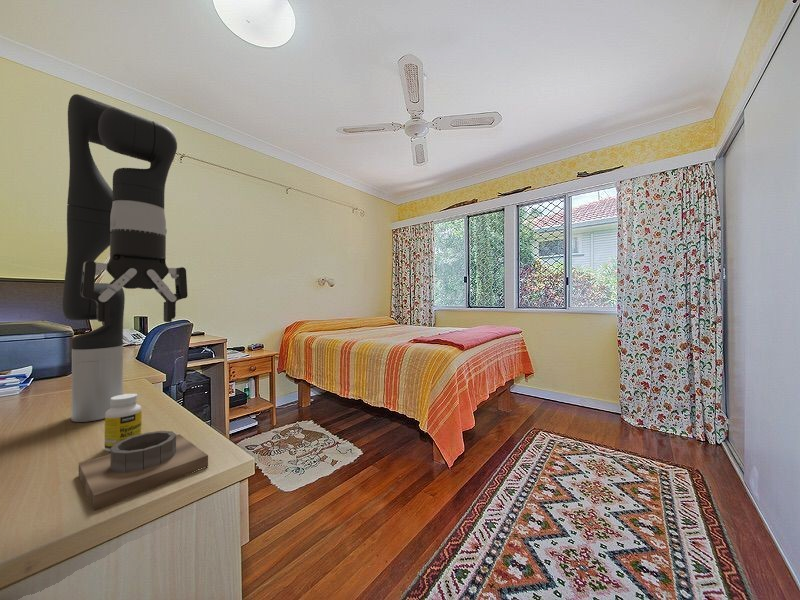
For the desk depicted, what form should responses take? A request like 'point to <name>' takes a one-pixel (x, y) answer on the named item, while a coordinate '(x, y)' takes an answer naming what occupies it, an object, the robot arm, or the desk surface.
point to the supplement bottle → (122, 419)
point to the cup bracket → (139, 466)
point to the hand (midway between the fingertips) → (138, 323)
